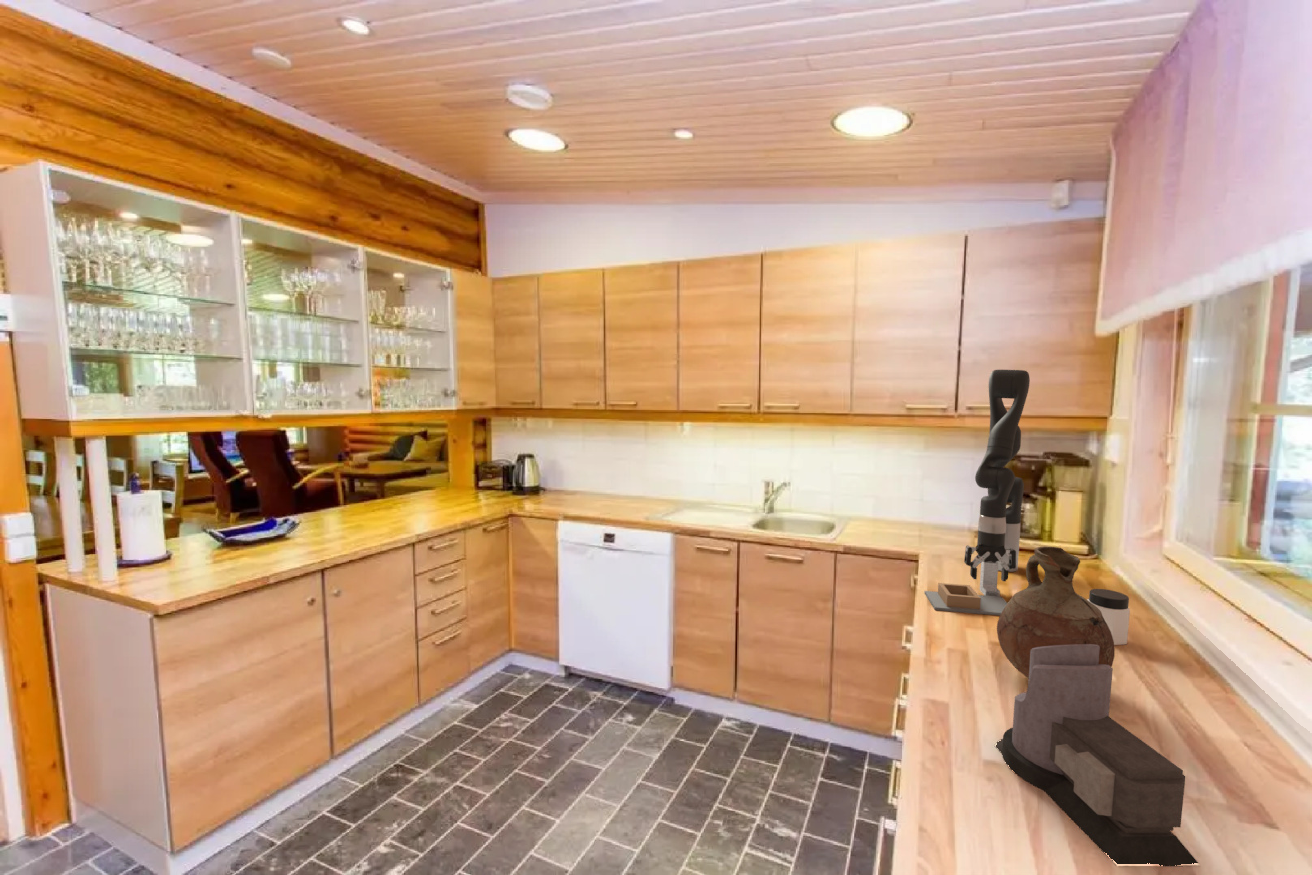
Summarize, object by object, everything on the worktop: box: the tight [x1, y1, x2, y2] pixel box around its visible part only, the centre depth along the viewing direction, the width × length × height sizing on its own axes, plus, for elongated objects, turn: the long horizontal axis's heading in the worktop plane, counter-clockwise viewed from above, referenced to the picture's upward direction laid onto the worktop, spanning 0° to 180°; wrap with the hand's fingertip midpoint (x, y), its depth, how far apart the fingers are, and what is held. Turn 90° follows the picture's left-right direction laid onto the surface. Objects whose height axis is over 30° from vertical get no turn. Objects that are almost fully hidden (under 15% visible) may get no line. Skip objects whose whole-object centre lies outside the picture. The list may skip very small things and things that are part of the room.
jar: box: [1086, 588, 1131, 646], centre depth 152 cm, size 9×8×12 cm
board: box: [924, 582, 1008, 617], centre depth 175 cm, size 14×22×4 cm, turn 77°
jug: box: [996, 545, 1116, 680], centre depth 128 cm, size 22×22×30 cm
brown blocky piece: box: [995, 644, 1199, 868], centre depth 94 cm, size 30×16×24 cm, turn 1°
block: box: [979, 561, 1001, 597], centre depth 184 cm, size 6×4×10 cm, turn 167°
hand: (988, 579), depth 185 cm, fingers open, 8 cm apart
